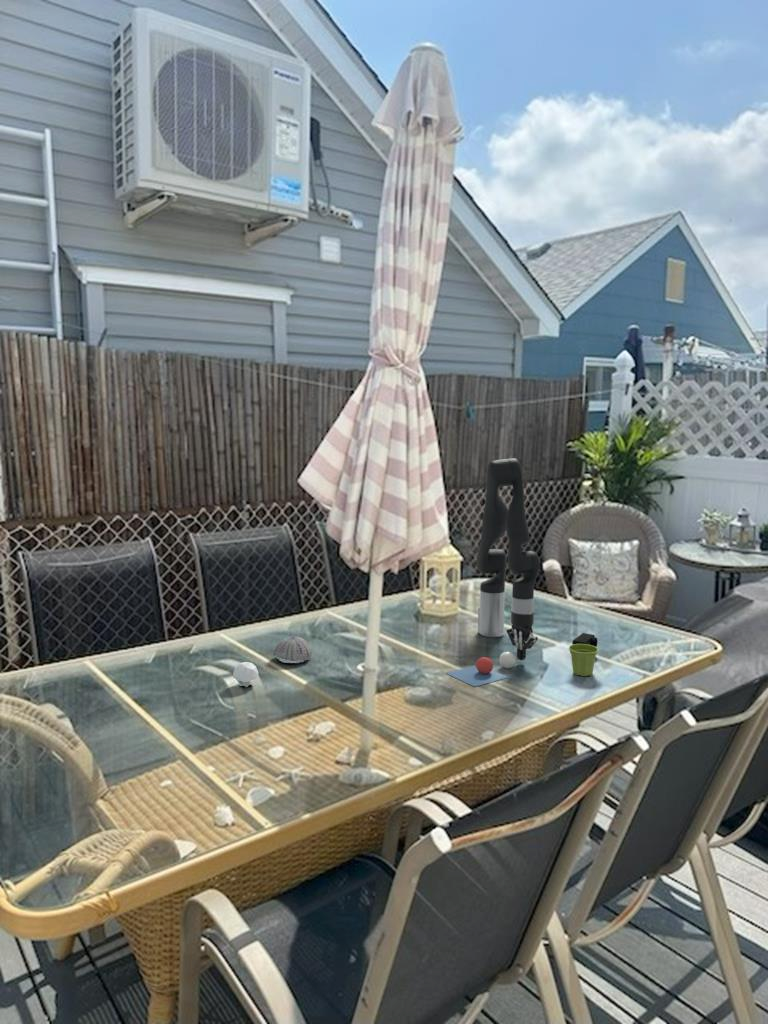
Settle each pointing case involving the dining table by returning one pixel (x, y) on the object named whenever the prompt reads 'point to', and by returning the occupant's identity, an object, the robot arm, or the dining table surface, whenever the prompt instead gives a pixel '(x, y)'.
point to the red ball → (484, 665)
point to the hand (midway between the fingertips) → (521, 659)
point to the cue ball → (507, 659)
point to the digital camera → (586, 639)
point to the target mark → (475, 676)
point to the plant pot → (583, 658)
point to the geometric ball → (245, 672)
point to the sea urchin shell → (293, 649)
